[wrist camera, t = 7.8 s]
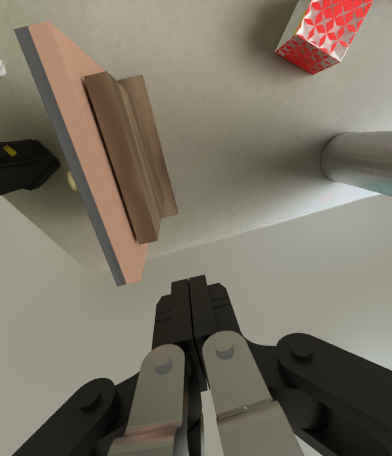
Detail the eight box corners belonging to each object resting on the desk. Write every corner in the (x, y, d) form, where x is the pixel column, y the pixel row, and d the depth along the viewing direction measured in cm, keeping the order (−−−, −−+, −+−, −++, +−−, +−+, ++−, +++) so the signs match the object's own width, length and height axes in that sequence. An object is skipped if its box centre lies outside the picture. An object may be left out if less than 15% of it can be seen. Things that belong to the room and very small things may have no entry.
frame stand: (143, 77, 42) (107, 9, 20) (177, 211, 50) (179, 269, 28) (84, 91, 42) (-16, 38, 20) (129, 223, 50) (92, 290, 28)
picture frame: (105, 71, 32) (48, 21, 18) (152, 225, 41) (141, 280, 26) (82, 76, 32) (5, 31, 18) (134, 230, 41) (111, 287, 26)
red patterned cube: (298, -1, 40) (326, -32, 33) (338, 25, 42) (373, 0, 34) (274, 52, 42) (295, 34, 35) (312, 75, 44) (340, 62, 37)
